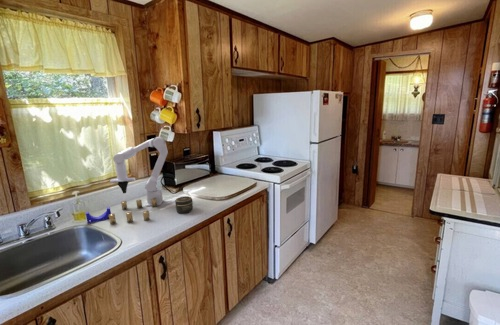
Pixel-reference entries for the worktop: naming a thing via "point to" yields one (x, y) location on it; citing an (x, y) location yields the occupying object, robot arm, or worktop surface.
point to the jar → (184, 205)
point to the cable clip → (95, 219)
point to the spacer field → (129, 214)
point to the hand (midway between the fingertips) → (124, 192)
